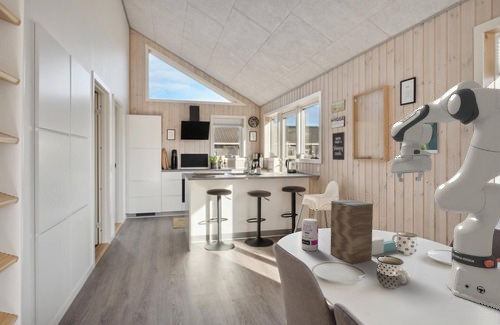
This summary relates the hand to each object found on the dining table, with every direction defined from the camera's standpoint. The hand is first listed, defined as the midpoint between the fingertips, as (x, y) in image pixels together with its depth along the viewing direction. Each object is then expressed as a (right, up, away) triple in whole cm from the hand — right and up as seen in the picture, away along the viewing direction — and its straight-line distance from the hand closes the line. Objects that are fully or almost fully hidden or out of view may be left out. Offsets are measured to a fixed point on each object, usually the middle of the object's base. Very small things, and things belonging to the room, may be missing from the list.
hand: (409, 181), depth 145 cm
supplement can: (-47, -35, +7) cm, 59 cm away
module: (-12, -35, +4) cm, 37 cm away
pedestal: (-30, -35, -5) cm, 47 cm away
